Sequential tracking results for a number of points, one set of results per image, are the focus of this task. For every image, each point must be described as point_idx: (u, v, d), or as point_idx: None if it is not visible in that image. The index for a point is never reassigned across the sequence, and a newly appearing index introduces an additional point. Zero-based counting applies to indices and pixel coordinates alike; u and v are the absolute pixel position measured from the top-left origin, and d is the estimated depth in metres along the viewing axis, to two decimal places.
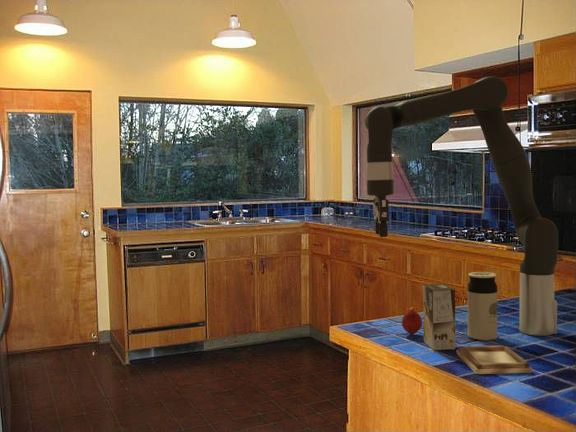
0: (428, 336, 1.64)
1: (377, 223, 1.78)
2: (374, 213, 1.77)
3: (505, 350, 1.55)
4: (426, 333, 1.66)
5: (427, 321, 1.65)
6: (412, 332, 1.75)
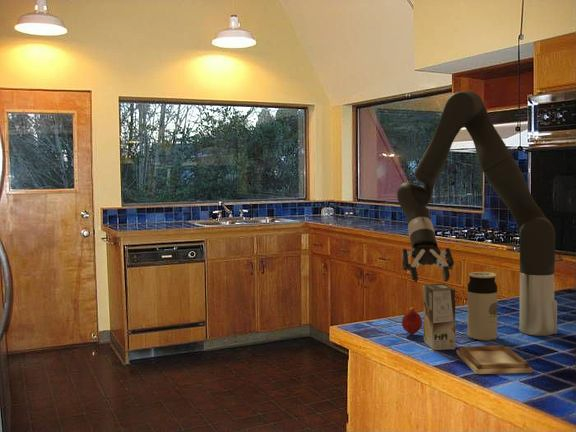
0: (428, 336, 1.64)
1: (442, 272, 1.75)
2: (436, 265, 1.78)
3: (505, 350, 1.55)
4: (426, 333, 1.66)
5: (427, 321, 1.65)
6: (412, 332, 1.75)
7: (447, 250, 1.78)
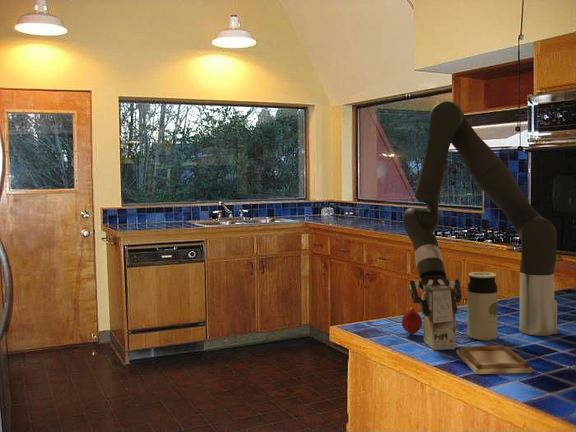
0: (428, 336, 1.64)
1: None
2: None
3: (505, 350, 1.55)
4: (426, 333, 1.66)
5: (427, 321, 1.65)
6: (412, 332, 1.75)
7: (456, 282, 1.69)
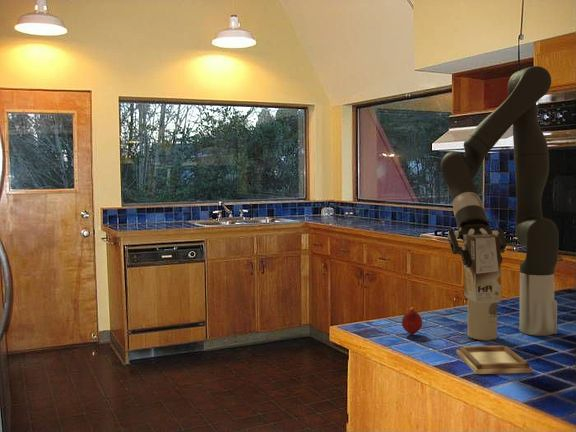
0: (470, 288, 1.50)
1: None
2: None
3: (505, 350, 1.55)
4: (467, 287, 1.52)
5: (469, 273, 1.51)
6: (412, 332, 1.75)
7: (500, 230, 1.55)
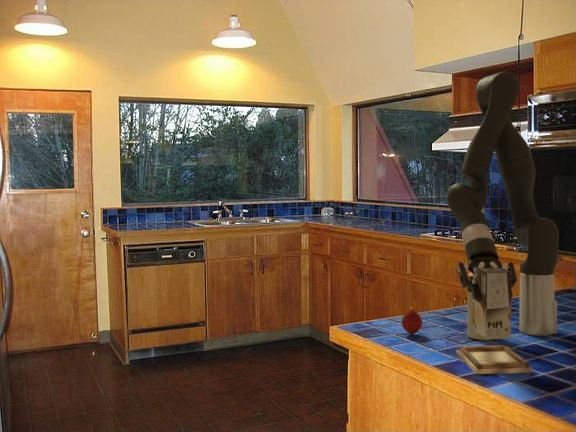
0: (480, 323, 1.48)
1: None
2: None
3: (505, 350, 1.55)
4: (476, 321, 1.50)
5: (479, 307, 1.48)
6: (412, 332, 1.75)
7: (510, 264, 1.52)
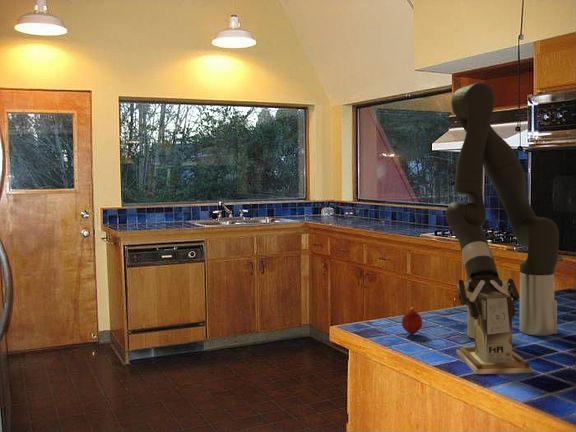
0: (481, 348, 1.48)
1: None
2: None
3: None
4: (478, 345, 1.51)
5: (480, 332, 1.49)
6: (412, 332, 1.75)
7: (510, 281, 1.53)
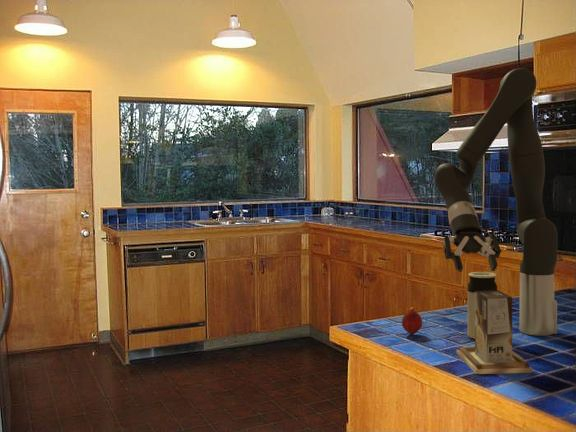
0: (481, 348, 1.48)
1: (489, 260, 1.60)
2: (480, 253, 1.62)
3: None
4: (478, 345, 1.51)
5: (480, 332, 1.49)
6: (412, 332, 1.75)
7: (493, 237, 1.63)
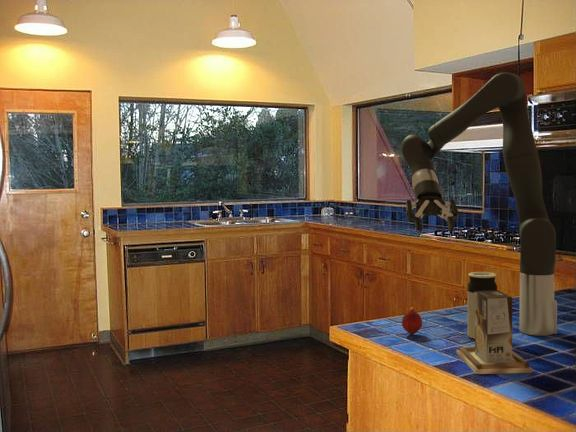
0: (481, 348, 1.48)
1: (447, 222, 1.73)
2: (440, 216, 1.75)
3: None
4: (478, 345, 1.51)
5: (480, 332, 1.49)
6: (412, 332, 1.75)
7: (452, 201, 1.75)
